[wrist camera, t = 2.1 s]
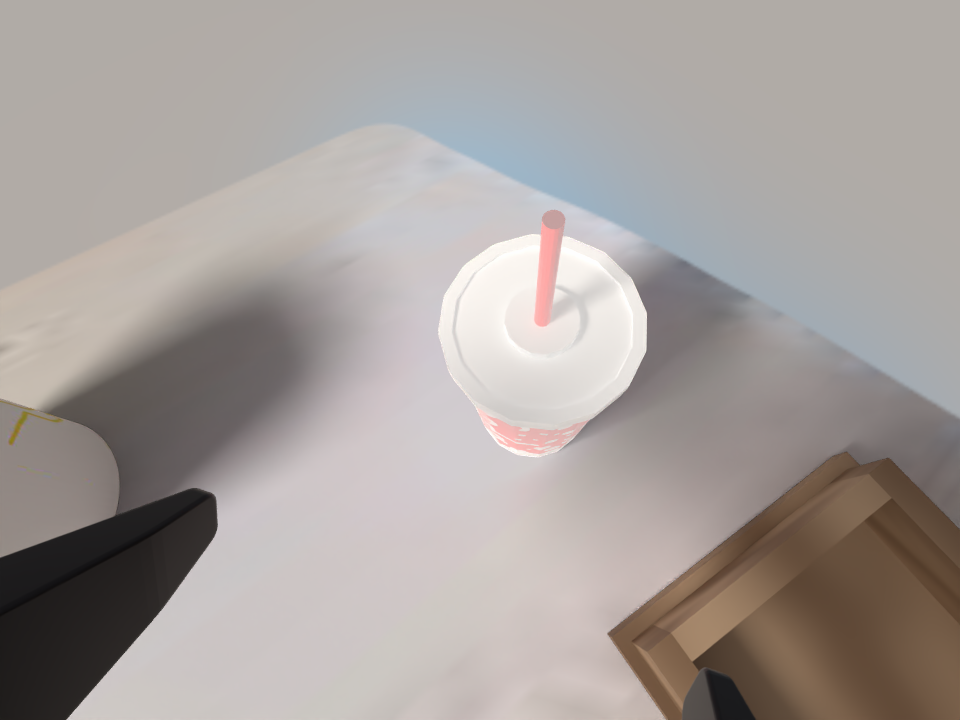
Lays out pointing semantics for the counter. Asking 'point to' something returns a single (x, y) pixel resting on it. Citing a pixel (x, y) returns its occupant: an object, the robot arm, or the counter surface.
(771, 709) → the tray
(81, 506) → the grey upright cylinder
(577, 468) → the counter surface
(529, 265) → the beverage cup
